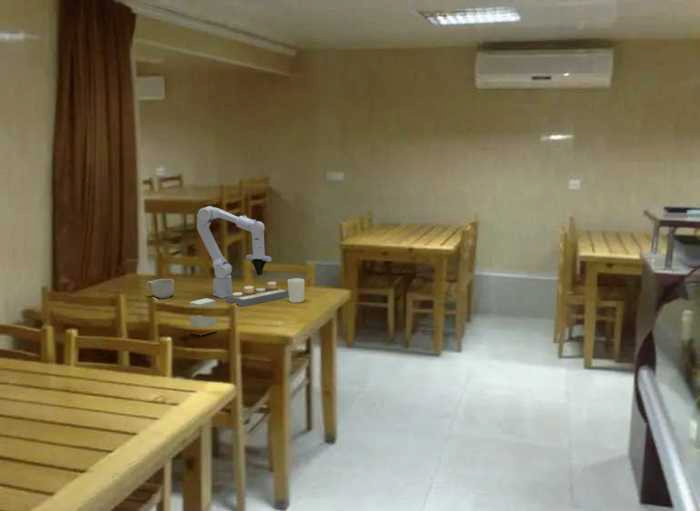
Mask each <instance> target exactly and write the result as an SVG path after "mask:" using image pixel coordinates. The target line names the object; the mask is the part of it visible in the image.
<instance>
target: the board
mask: <svg viewBox="0 0 700 511" xmlns="http://www.w3.org/2000/svg"><path fill="white" fill-rule="evenodd" d="M264 288H265V292H263V293H257V292H256V289H254V294H252V295H245V292H244V291H242V297H237V298H235V297H233V294H230V295H226V297H225V301H226V303H230V304H232V303H236V304H238V305H237V306H240V307H242V308H243V307H248V306H254V305H258V304H262V302H263V303H268V302H272V301H277V300H281V298H282V299H285V298H286V297H287V298H289V292H288V290H287V289H286V290H285V289H282V288H278V287H276V290H273V291H269V290H267V287H264ZM287 298H286V299H287ZM267 301H268V302H267ZM257 303H258V304H257Z"/></svg>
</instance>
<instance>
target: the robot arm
mask: <svg viewBox="0 0 700 511" xmlns="http://www.w3.org/2000/svg"><path fill="white" fill-rule="evenodd" d="M196 219H197V220H196V229H197V232H198V234H199V236H200V238H201V241H202V242H203V243H204V246H205V248H206V250H207V252H208V254H209V256H210V257H211V260H212V266H213V269H214V275H215V278H213V280H212V287H213V290H212V291H213V293H211V295H212V296H214V297H217V298H220V299H224V298H226V295H230V294H233V293H234V292H233V287H232V286H233V285H232V284H233V282H232V275H231V273H232V271H233V266H232V265H231V264H230V262H228V260H227V258H225V257H224V256H223V254H222V251H221V250H220V247H219V246H218V244H217V242H216V240H215V237H214V236H213V234H212V231H211V229H210V226H211V223H212V221H214V220H216V219H223V220H225V221H229V222H231V223H234V224H235V225H236V227H237V228H240V229H243V230H245V231H247V232H251V245H252V247H251V248H252V254H246V260H252V261H251V263H252V265H253V267H254V269H255V273H256V276H262V275H263V272H264V271H263V270H264V267H265V265H266V263H267V262H268V263H269V262H272V257H271V256H268V255H266V254H265V253H266V252H265V232H264V231H265V224H264V223H263V221H261V220H256V219H251V218H249V217H247V215H245V214H244V215H240V216H237V215H234V214H232V213H230V212H227V211H226V210H224V209H221V208H218V207H215V206H212V205H208V206H205V207H202V208H200V209H199V210H198V212H197V214H196Z"/></svg>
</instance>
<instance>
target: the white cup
mask: <svg viewBox="0 0 700 511" xmlns="http://www.w3.org/2000/svg"><path fill="white" fill-rule="evenodd" d="M305 283H306V282H305V279H304V278H300V277H299V278H289V279H288V280H287V291H288V295H289V297H288V301H289V302H290V303H294V304H295V303H302V302H303V303H304V301H305Z"/></svg>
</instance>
